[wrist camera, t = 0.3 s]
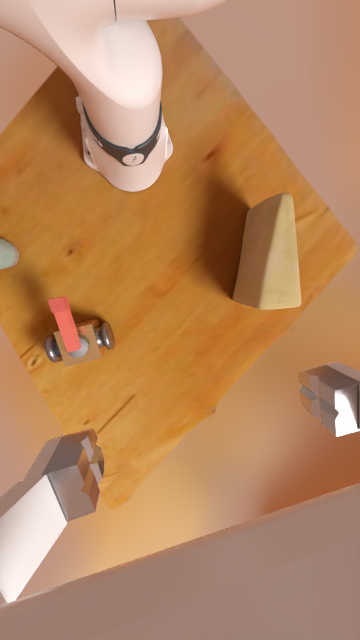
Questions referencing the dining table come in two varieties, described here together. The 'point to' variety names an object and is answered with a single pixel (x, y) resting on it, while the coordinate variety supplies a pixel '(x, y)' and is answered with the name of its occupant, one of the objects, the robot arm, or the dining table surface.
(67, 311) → the lever
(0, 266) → the coffee cup
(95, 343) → the valve
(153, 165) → the robot arm
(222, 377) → the dining table surface
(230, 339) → the dining table surface
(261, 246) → the cheese
